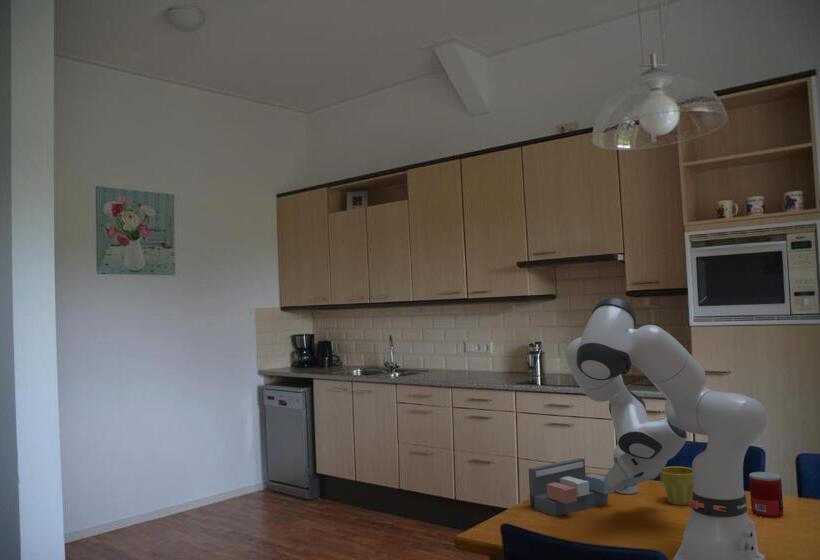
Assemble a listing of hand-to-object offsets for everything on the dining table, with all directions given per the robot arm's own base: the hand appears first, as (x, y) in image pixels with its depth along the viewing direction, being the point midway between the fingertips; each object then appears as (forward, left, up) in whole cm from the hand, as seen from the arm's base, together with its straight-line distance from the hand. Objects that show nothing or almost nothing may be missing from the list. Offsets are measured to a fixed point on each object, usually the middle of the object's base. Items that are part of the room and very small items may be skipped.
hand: (620, 488), depth 194 cm
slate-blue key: (+3, +8, -2) cm, 9 cm away
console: (-3, +16, -7) cm, 18 cm away
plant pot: (+19, -10, -7) cm, 22 cm away
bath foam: (+21, +8, -7) cm, 23 cm away
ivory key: (-4, +13, -2) cm, 14 cm away
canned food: (+21, -34, -7) cm, 40 cm away
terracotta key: (-12, +13, -2) cm, 18 cm away
